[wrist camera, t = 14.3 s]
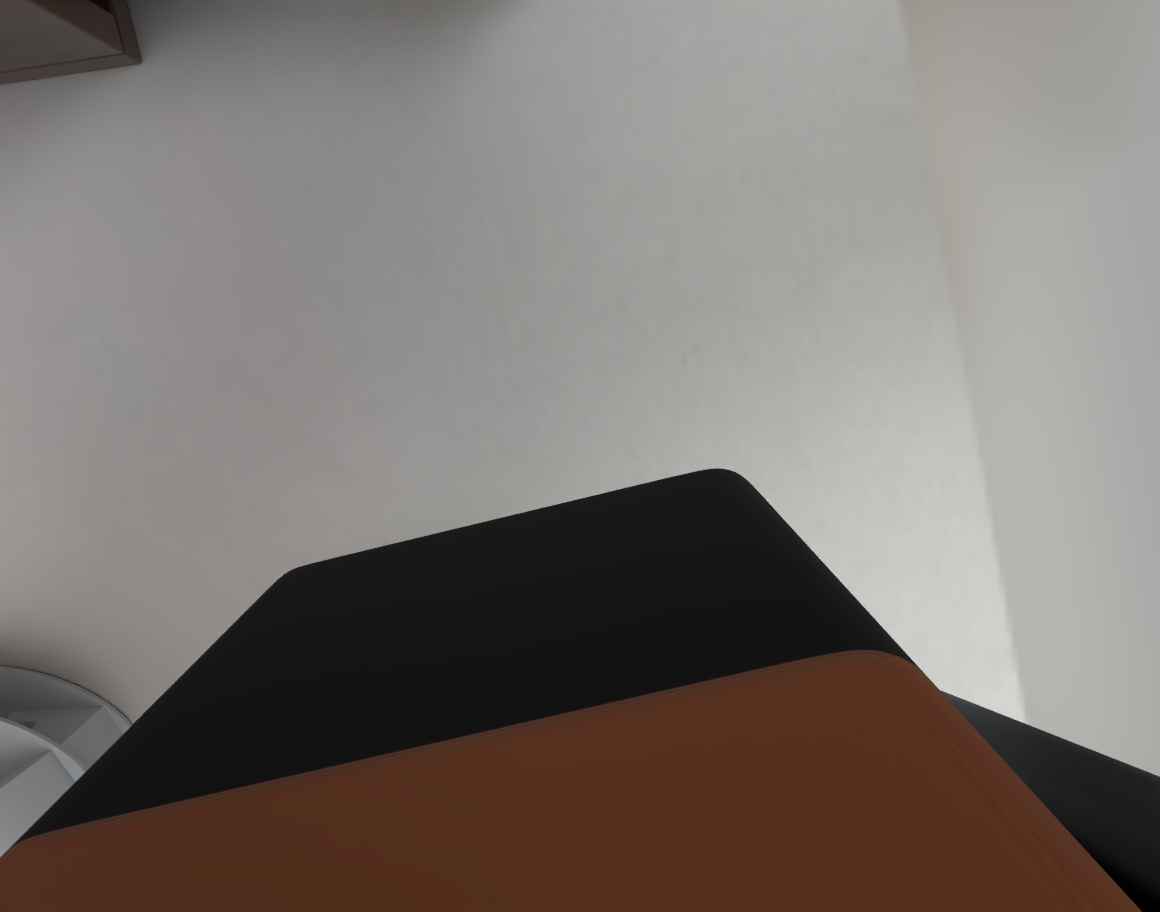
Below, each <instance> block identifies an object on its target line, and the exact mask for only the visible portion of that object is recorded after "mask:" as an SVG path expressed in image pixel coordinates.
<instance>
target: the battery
mask: <svg viewBox="0 0 1160 912" xmlns="http://www.w3.org/2000/svg"><path fill="white" fill-rule="evenodd" d="M0 912H1142V911H1141V910H1140V909H1139V908H1138V907H1137V906H1136V905H1135V904H1134V903H1133V901H1132V900H1131V899H1130V898H1129V897H1128V896H1127V895H1126V894H1125V893H1124V892H1123V890H1122V889H1121V888H1120V887H1119V886H1118V885H1117V884H1116V883H1115V882H1114V881H1113V880H1112V878H1111V877H1110V876H1109V875H1108V874H1107V873H1106V872H1105V871H1104V870H1103V869H1102V867H1101V866H1100V865H1099V864H1098V863H1097V862H1096V861H1095V860H1094V859H1093V858H1092V857H1091V855H1090V854H1089V853H1088V852H1087V851H1086V850H1085V849H1084V848H1083V847H1082V846H1081V844H1080V843H1079V842H1078V841H1077V840H1076V839H1075V838H1074V837H1073V836H1072V835H1071V834H1070V832H1069V831H1068V830H1067V829H1066V828H1065V827H1064V826H1063V825H1062V824H1061V823H1060V821H1059V820H1058V819H1057V818H1056V817H1055V816H1054V815H1053V814H1052V813H1051V812H1050V811H1049V809H1048V808H1047V807H1046V806H1045V805H1044V804H1043V803H1042V802H1041V801H1040V800H1039V798H1038V797H1037V796H1036V795H1035V794H1034V793H1033V792H1032V791H1031V790H1030V789H1029V788H1028V786H1027V785H1026V784H1025V783H1024V782H1023V781H1022V780H1021V779H1020V778H1019V777H1018V776H1017V774H1016V773H1015V772H1014V771H1013V770H1012V769H1011V768H1010V767H1009V766H1008V765H1007V763H1006V762H1005V761H1004V760H1003V759H1002V758H1001V757H1000V756H999V755H998V754H997V753H996V751H995V750H994V749H993V748H992V747H991V746H990V745H989V744H988V743H987V742H986V740H985V739H984V738H983V737H982V736H981V735H980V734H979V733H978V732H977V731H976V730H975V728H974V727H973V726H972V725H971V724H970V723H969V722H968V721H967V720H966V719H965V717H964V716H963V715H962V714H961V713H960V712H959V711H958V710H957V709H956V708H955V707H954V705H953V704H952V703H951V702H950V701H949V700H948V699H947V698H946V697H945V696H944V694H943V693H942V692H941V691H940V690H939V689H938V688H937V687H936V686H935V685H934V684H933V682H932V681H931V680H930V679H929V678H928V677H927V676H926V675H925V674H924V673H923V671H922V670H921V669H920V668H919V667H918V666H917V665H916V664H915V663H914V662H913V661H912V659H911V658H910V657H909V656H908V655H907V654H906V653H905V652H904V651H903V650H902V649H901V647H900V646H899V645H898V644H897V643H896V642H895V641H894V640H893V639H892V638H891V636H890V635H889V634H888V633H887V632H886V631H885V630H884V629H883V628H882V627H881V626H880V624H879V623H878V622H877V621H876V620H875V619H874V618H873V617H872V616H871V615H870V613H869V612H868V611H867V610H866V609H865V608H864V607H863V606H862V605H861V604H860V603H859V601H858V600H857V599H856V598H855V597H854V596H853V595H852V594H851V593H850V592H849V590H848V589H847V588H846V587H845V586H844V585H843V584H842V583H841V582H840V581H839V580H838V578H837V577H836V576H835V575H834V574H833V573H832V572H831V571H830V570H829V569H828V567H827V566H826V565H825V564H824V563H823V562H822V561H821V560H820V559H819V558H818V557H817V555H816V554H815V553H814V552H813V551H812V550H811V549H810V548H809V547H808V546H807V544H806V543H805V542H804V541H803V540H802V539H801V538H800V537H799V536H798V535H797V534H796V532H795V531H794V530H793V529H792V528H791V527H790V526H789V525H788V524H787V523H786V522H785V520H784V519H783V518H782V517H781V516H780V515H779V514H778V513H777V512H776V511H775V509H774V508H773V507H772V506H771V505H770V504H769V503H768V502H767V501H766V500H765V499H764V497H763V496H762V495H761V494H760V493H759V492H758V491H757V490H756V489H755V488H754V487H753V486H752V485H751V484H750V483H749V482H748V481H747V480H746V479H745V478H744V477H742V476H741V475H739V474H737V473H736V472H733V471H730V470H726V469H707V470H702V471H696V472H692V473H687V474H683V475H678V476H674V477H670V478H665V479H661V480H657V481H653V482H649V483H644V484H640V485H636V486H632V487H628V488H624V489H620V490H615V491H611V492H607V493H603V494H599V495H595V496H590V497H586V498H582V499H578V500H574V501H570V502H565V503H561V504H557V505H553V506H549V507H545V508H540V509H536V510H532V511H528V512H524V513H520V514H515V515H511V516H507V517H503V518H499V519H495V520H490V521H486V522H482V523H478V524H474V525H470V526H465V527H461V528H457V529H453V530H449V531H445V532H440V533H436V534H432V535H428V536H424V537H420V538H415V539H411V540H407V541H403V542H399V543H395V544H390V545H386V546H382V547H378V548H374V549H370V550H366V551H361V552H357V553H353V554H349V555H345V556H341V557H336V558H332V559H328V560H324V561H320V562H316V563H312V564H309V565H305V566H302V567H298V568H295V569H293V570H291V571H289V572H287V573H286V574H284V575H283V576H282V577H280V578H279V579H278V580H277V581H276V582H275V583H274V584H273V585H272V586H271V587H270V588H269V589H268V590H267V591H266V592H265V593H264V594H263V595H262V596H261V597H260V598H259V599H258V600H257V601H256V602H255V603H254V604H253V605H252V606H251V607H250V608H249V609H248V610H247V611H246V612H245V613H244V614H243V615H242V616H241V617H240V618H239V619H238V620H237V621H236V622H235V623H234V624H233V625H232V626H231V627H230V628H229V629H228V630H227V631H226V632H225V633H224V634H223V635H222V636H221V637H220V638H219V639H218V640H217V641H216V642H215V643H214V644H213V645H212V646H211V647H210V648H209V649H208V650H207V651H206V652H205V653H204V654H203V655H202V656H201V657H200V658H199V659H198V660H197V661H196V662H195V663H194V664H193V665H192V666H191V667H190V668H189V669H188V670H187V671H186V672H185V673H184V674H183V675H182V676H181V677H180V678H179V679H178V680H177V681H176V682H175V683H174V684H173V685H172V686H171V687H170V688H169V689H168V690H167V691H166V692H165V693H164V694H163V695H162V696H161V697H160V698H159V699H158V700H157V701H156V702H155V703H154V704H153V705H152V706H151V707H150V708H149V709H148V710H147V711H146V712H145V713H144V714H143V715H142V716H141V717H140V718H139V719H138V720H137V721H136V722H135V723H134V724H133V725H132V726H131V727H130V728H129V729H128V730H127V731H126V732H125V733H124V734H123V735H122V736H121V737H120V738H119V739H118V740H117V741H116V742H115V743H114V744H113V745H112V746H111V747H110V748H109V749H108V750H107V751H106V752H105V753H104V754H103V755H102V756H101V757H100V758H99V759H98V760H97V761H96V762H95V763H94V764H93V765H92V766H91V767H90V768H89V769H88V770H87V771H86V772H85V773H84V774H83V775H82V776H81V777H80V778H79V779H78V780H77V781H76V782H75V783H74V784H73V785H72V786H71V787H70V788H69V789H68V790H67V791H66V792H65V793H64V794H63V795H62V796H61V797H60V798H59V799H58V800H57V801H56V802H55V803H54V804H53V805H52V806H51V807H50V808H49V809H48V810H47V811H46V812H45V813H44V814H43V815H42V816H41V817H40V818H39V819H38V820H37V821H36V822H35V823H34V824H33V825H32V826H31V827H30V828H29V829H28V830H27V831H26V832H25V833H24V834H23V835H22V836H21V837H20V838H19V839H18V840H17V841H16V842H15V843H14V844H13V845H12V846H11V847H10V848H9V849H8V850H7V851H6V852H5V853H4V854H3V855H2V856H1V857H0Z"/></svg>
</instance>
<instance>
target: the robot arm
mask: <svg viewBox="0 0 1160 912" xmlns="http://www.w3.org/2000/svg"><path fill="white" fill-rule="evenodd" d="M941 692H942V693H943V694H944V696H945V697H946V698H947V699H948V700H949V701H950V702H951V703H952V704H953V705H954V707H955V708H956V709H957V710H958V711H959V712H960V713H961V714H962V715H963V716H964V717H965V719H966V720H967V721H968V722H969V723H970V724H971V725H972V726H973V727H974V728H975V730H976V731H977V732H978V733H979V734H980V735H981V736H982V737H983V738H984V739H985V740H986V742H987V743H988V744H989V745H990V746H991V747H992V748H993V749H994V750H995V751H996V753H997V754H998V755H999V756H1000V757H1001V758H1002V759H1003V760H1004V761H1005V762H1006V763H1007V765H1008V766H1009V767H1010V768H1011V769H1012V770H1013V771H1014V772H1015V773H1016V774H1017V776H1018V777H1019V778H1020V779H1021V780H1022V781H1023V782H1024V783H1025V784H1026V785H1027V786H1028V788H1029V789H1030V790H1031V791H1032V792H1033V793H1034V794H1035V795H1036V796H1037V797H1038V798H1039V800H1040V801H1041V802H1042V803H1043V804H1044V805H1045V806H1046V807H1047V808H1048V809H1049V811H1050V812H1051V813H1052V814H1053V815H1054V816H1055V817H1056V818H1057V819H1058V820H1059V821H1060V823H1061V824H1062V825H1063V826H1064V827H1065V828H1066V829H1067V830H1068V831H1069V832H1070V834H1071V835H1072V836H1073V837H1074V838H1075V839H1076V840H1077V841H1078V842H1079V843H1080V844H1081V846H1082V847H1083V848H1084V849H1085V850H1086V851H1087V852H1088V853H1089V854H1090V855H1091V857H1092V858H1093V859H1094V860H1095V861H1096V862H1097V863H1098V864H1099V865H1100V866H1101V867H1102V869H1103V870H1104V871H1105V872H1106V873H1107V874H1108V875H1109V876H1110V877H1111V878H1112V880H1113V881H1114V882H1115V883H1116V884H1117V885H1118V886H1119V887H1120V888H1121V889H1122V890H1123V892H1124V893H1125V894H1126V895H1127V896H1128V897H1129V898H1130V899H1131V900H1132V901H1133V903H1134V904H1135V905H1136V906H1137V907H1138V908H1139V909H1140V910H1141V911H1142V912H1160V777H1159V776H1157V775H1154V774H1151V773H1149V772H1147V771H1144V770H1141V769H1139V768H1136V767H1134V766H1131V765H1128V764H1126V763H1124V762H1121V761H1119V760H1116V759H1113V758H1110V757H1108V756H1106V755H1103V754H1101V753H1098V752H1096V751H1093V750H1090V749H1088V748H1085V747H1083V746H1080V745H1078V744H1075V743H1073V742H1070V741H1068V740H1065V739H1062V738H1060V737H1057V736H1055V735H1052V734H1050V733H1047V732H1045V731H1042V730H1040V729H1037V728H1035V727H1032V726H1030V725H1027V724H1024V723H1022V722H1019V721H1017V720H1014V719H1012V718H1009V717H1007V716H1004V715H1002V714H999V713H996V712H994V711H991V710H989V709H986V708H984V707H981V706H979V705H976V704H974V703H971V702H968V701H966V700H963V699H961V698H958V697H956V696H953V695H951V694H948V693H946V692H943V691H941Z"/></svg>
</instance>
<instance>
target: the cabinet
mask: <svg viewBox="0 0 1160 912" xmlns="http://www.w3.org/2000/svg"><path fill="white" fill-rule="evenodd" d="M140 62H141V58H140V54H139V50H138V46H137V42H136V38H135V34H134V30H133V26H132V22H131V18H130V14H129V10H128V6H127V2H126V0H0V84H7V83H14V82H20V81H27V80H33V79H40V78H46V77H53V76H60V75H66V74H73V73H79V72H86V71H92V70H99V69H106V68H112V67H119V66H125V65H132V64H138V63H140Z"/></svg>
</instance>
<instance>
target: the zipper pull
mask: <svg viewBox="0 0 1160 912" xmlns="http://www.w3.org/2000/svg"><path fill="white" fill-rule="evenodd" d="M131 726H132V724H131V723H130V721H129V720H128V719H127V718H126V717H125V716H124V715H123V714H122V713H120V712H119V711H118V710H117V709H116V708H114V707H113V706H112V705H110V704H109V703H108V702H106V701H105V700H103V699H102V698H100V697H98V696H97V695H95V694H93V693H91V692H90V691H88V690H86V689H83V688H81V687H79V686H77V685H75V684H73V683H70V682H68V681H65V680H62V679H60V678H57V677H54V676H50V675H47V674H44V673H40V672H36V671H31V670H26V669H22V668H14V667H6V666H0V857H1V856H2V855H3V854H4V853H5V852H6V851H7V850H8V849H9V848H10V847H11V846H12V845H13V844H14V843H15V842H16V841H17V840H18V839H19V838H20V837H21V836H22V835H23V834H24V833H25V832H26V831H27V830H28V829H29V828H30V827H31V826H32V825H33V824H34V823H35V822H36V821H37V820H38V819H39V818H40V817H41V816H42V815H43V814H44V813H45V812H46V811H47V810H48V809H49V808H50V807H51V806H52V805H53V804H54V803H55V802H56V801H57V800H58V799H59V798H60V797H61V796H62V795H63V794H64V793H65V792H66V791H67V790H68V789H69V788H70V787H71V786H72V785H73V784H74V783H75V782H76V781H77V780H78V779H79V778H80V777H81V776H82V775H83V774H84V773H85V772H86V771H87V770H88V769H89V768H90V767H91V766H92V765H93V764H94V763H95V762H96V761H97V760H98V759H99V758H100V757H101V756H102V755H103V754H104V753H105V752H106V751H107V750H108V749H109V748H110V747H111V746H112V745H113V744H114V743H115V742H116V741H117V740H118V739H119V738H120V737H121V736H122V735H123V734H124V733H125V732H126V731H127V730H128V729H129V728H130V727H131Z"/></svg>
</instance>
